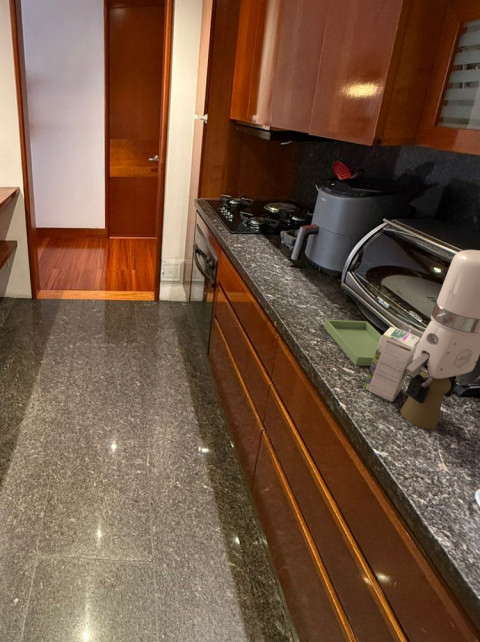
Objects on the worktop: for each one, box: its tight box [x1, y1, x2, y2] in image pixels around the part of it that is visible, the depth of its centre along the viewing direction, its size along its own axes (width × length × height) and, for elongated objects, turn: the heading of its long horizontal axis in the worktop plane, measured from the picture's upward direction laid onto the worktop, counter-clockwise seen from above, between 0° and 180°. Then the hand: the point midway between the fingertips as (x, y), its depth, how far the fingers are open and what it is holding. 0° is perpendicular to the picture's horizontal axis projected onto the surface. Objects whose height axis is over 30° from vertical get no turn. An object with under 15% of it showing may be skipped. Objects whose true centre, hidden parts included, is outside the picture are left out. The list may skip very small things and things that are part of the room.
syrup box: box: [362, 326, 421, 403], centre depth 84 cm, size 6×6×14 cm
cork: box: [400, 371, 451, 430], centre depth 77 cm, size 6×6×11 cm
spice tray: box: [323, 319, 383, 367], centre depth 102 cm, size 17×11×2 cm, turn 175°
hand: (428, 394), depth 77 cm, fingers open, 6 cm apart
